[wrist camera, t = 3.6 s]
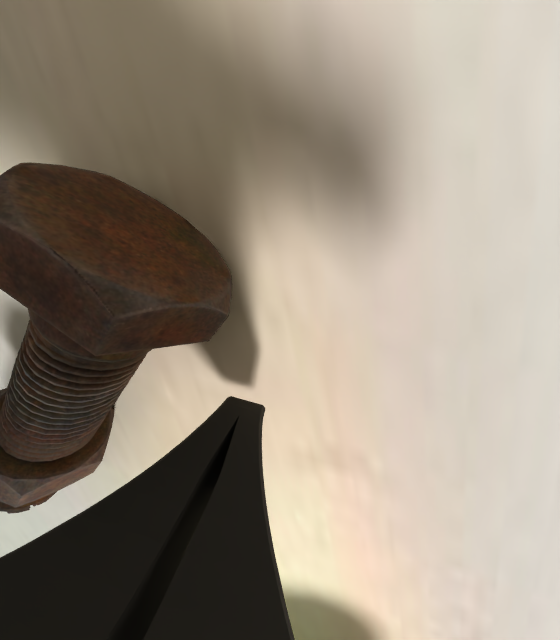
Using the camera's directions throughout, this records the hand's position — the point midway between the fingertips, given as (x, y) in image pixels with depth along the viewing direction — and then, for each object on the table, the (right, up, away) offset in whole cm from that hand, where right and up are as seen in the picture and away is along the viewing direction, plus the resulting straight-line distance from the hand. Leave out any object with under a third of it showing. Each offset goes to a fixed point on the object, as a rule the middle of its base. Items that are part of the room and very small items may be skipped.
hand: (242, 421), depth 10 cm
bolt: (-6, +2, +2) cm, 7 cm away
